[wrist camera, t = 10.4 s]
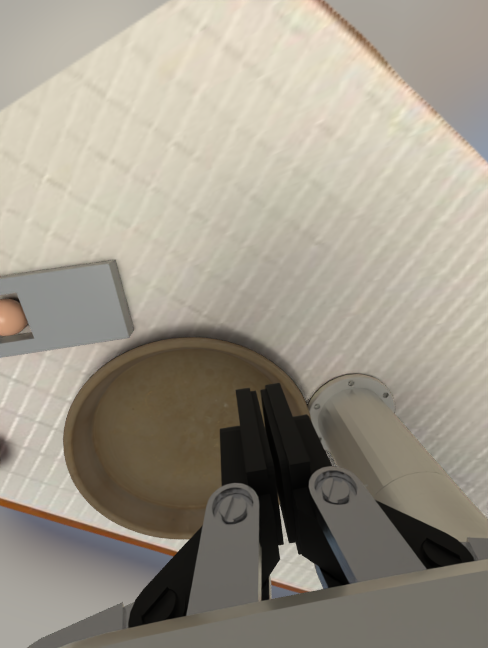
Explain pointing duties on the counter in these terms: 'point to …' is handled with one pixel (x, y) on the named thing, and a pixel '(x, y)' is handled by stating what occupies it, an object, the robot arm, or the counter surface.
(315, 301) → the counter surface
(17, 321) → the ball
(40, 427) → the counter surface
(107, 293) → the block
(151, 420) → the plant saucer
